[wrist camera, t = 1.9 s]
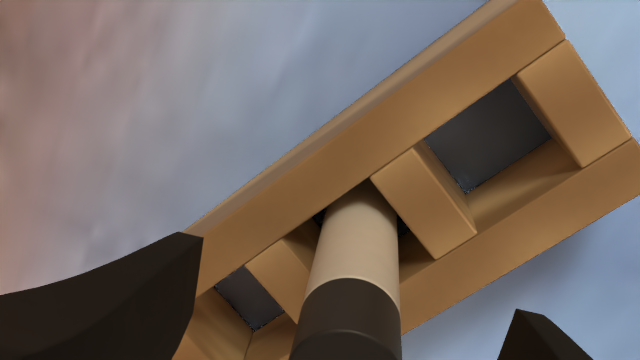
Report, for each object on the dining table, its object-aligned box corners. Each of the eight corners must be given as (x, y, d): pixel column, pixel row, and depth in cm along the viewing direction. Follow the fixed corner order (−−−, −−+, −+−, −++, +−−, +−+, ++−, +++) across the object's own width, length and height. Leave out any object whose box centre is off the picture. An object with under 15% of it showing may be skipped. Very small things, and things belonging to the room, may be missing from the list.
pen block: (619, 146, 17) (664, 181, 15) (251, 376, 22) (230, 437, 19) (509, -16, 16) (534, -12, 13) (143, 261, 21) (104, 307, 18)
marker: (410, 215, 19) (426, 393, 11) (355, 251, 20) (334, 443, 12) (368, 162, 18) (354, 309, 11) (313, 201, 19) (261, 366, 11)
